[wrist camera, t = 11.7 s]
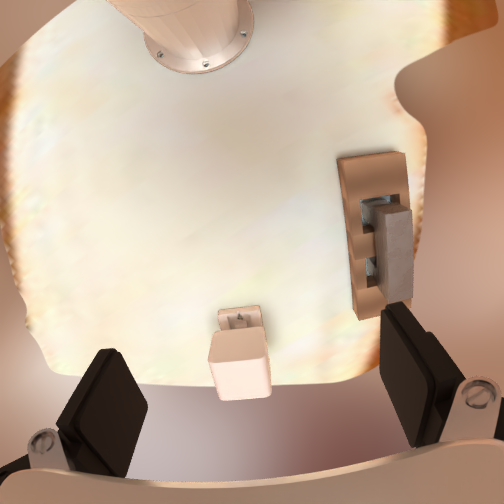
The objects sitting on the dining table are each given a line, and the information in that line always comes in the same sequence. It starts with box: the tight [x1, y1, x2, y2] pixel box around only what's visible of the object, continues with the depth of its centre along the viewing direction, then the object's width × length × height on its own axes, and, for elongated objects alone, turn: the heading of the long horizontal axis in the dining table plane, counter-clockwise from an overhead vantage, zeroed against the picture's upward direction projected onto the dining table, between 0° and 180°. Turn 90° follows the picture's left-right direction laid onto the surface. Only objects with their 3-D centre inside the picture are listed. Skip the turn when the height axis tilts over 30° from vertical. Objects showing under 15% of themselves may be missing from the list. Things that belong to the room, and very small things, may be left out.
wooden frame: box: [337, 151, 411, 321], centre depth 37 cm, size 20×8×3 cm, turn 12°
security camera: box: [208, 306, 272, 401], centre depth 39 cm, size 6×7×10 cm
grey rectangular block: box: [361, 199, 413, 303], centre depth 35 cm, size 10×3×8 cm, turn 12°
